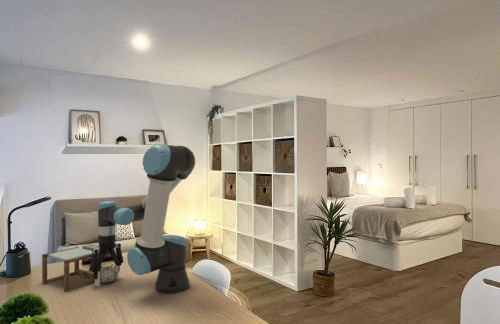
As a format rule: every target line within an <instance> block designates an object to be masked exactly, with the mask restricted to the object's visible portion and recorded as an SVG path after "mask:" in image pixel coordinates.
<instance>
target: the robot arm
mask: <svg viewBox="0 0 500 324" xmlns="http://www.w3.org/2000/svg"><path fill="white" fill-rule="evenodd" d="M142 166H143V170H144V172H145V173H146V178H147V179H148V180H149V184H148V188H147V189H148V190H147V195H146V196H145V197H144V198H143V200H142V201H141V202H140V203H139V204H134V205H128V206H117V204H116V201H113V200H104V201H100V202H99V203H98V205H97V206H98V209H97V218H98V219H97V223H98V224H97V227H98V228H97V231H98V232H97V233H98V237H97V239H98V240H97V243H98V245H99V247H98V248H97V249H92V257H90V258H91V260H90V264H89V269H88V270H89V272H92V273H93V278H94V279H95V283H94V286H96V287H100V286H101V281H100V272H99V268H100V266H102V263H103V261H104V259H105V257H106V256H105V255H108V254H109V255H110V257H111V259H112V261H113V263H114V264H113V269H114V270H115V272H117V273H116V274H115V276H114V279H113V280H116V281H118V280H119V275H120V272H121V268H120V267H121V266H122V264H123V263H124V262H125V261H124V257H123V253H122V244H121V243H118V242H117V243H116V241H117V237H116V236H117V235H116V232H117V230H116V226H117V225H119V226H128V225H130V224H131V223H134V222H140V221H142V225H141V226H142V227H141V232H140V236H138V237H136V239H135V244H134V245H135V246H132V247H131V248H129V249H128V251H127V254H126V256H127V257H126V259H127V260H126V261H127V264H128V266H129V268H130V270H131V271H132V272H133V273H134V274H136V275H138V276H143V275H148V274H150V273H152V272H156V271H158V274H157V278H156V280H155V283H154V289H155V291H157V292H159V293H163V294H174V293H180V292H181V293H182V292H183V291H185V290H188V289H189V288H190V278H189V277H188V273H187V269H186V263H187V262H186V259H187V258H186V257H187V256H186V253H187V252H186V248H187V245H186V238H185V237H183V236H181V235H172V234H167V235H165V234H164V228H165V224H166V223H165V222H166V218H167V211H168V207H169V206H168V205H169V200H170V194H171V192H173V191H174V190H175V188H176V187H177V186H178V185H179V184H180V183H181V182H182V181H183V180H187V178H188V177H189V176H190V175H191V174H192V172H193V170H194V169H195V166H196V158H195V154H194V152H193V151H192V150H191V149H190V148H189V147H188V146H185V145H174V144H173V145H172V144H171V145H170V144H169V145H168V144H155V145H152V146H150V147H149V148H148V149H147V150H146V151H145V153H144V155H143V157H142ZM99 251H100V252H99ZM98 253H99V255H98ZM97 257H98V259H97ZM188 287H189V288H188Z"/></svg>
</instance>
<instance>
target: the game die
mask: <svg viewBox="0 0 500 324" xmlns="http://www.w3.org/2000/svg"><path fill="white" fill-rule="evenodd" d="M116 273H117V272H115V270H114V264H111V265H109V266H102V265H101V270H100V280H101V281H100V286H101V285H103V284H105V283H111V282H112V283H114V282H115V281H114V280H115V279H114V276H115V274H116Z"/></svg>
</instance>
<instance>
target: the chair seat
mask: <svg viewBox="0 0 500 324" xmlns="http://www.w3.org/2000/svg"><path fill="white" fill-rule="evenodd" d="M98 247H99V244H94V243H90V244H85V245H82V248H80V247H79V248H74V247H73V248H74V249H70V250H66V251H61V250H60V251H61V252H57V253H53V254H48V257H47V258H50V259H55V260H58V261H62V262H64V261H65V260H69V259H73V258H77V257H80V256H84V255H88V254H92V249H97V248H98ZM99 252H100V251H99ZM109 255H110V254H108V255H105V257H108V256H109Z"/></svg>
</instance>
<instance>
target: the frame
mask: <svg viewBox="0 0 500 324" xmlns="http://www.w3.org/2000/svg"><path fill="white" fill-rule="evenodd" d="M74 248H80V247H79V246H74V247H70V248H66V249H61V250H57V251H53V252H48V253H43V254H42V255H41V256H42V257H41V275H42V276H41V284H43V285H46V284H50V283H53V282H56V281H60V280H63V292H64V293H68V292H71V291H74V290H77V289H80V288H83V287H85V286H88V285H91V284H95V279H94V278H93V272H91V271H88V270H85V269H81V268H80V261H82V260H86V259H90V258H92V254H88V255H84V256H80V257H77V258H73V259H69V260H65V261H63V274H62V275H59V276H55V277H52V278H48V258H49V257H48V254H53V253H57V252H61V251H66V250H70V249H74ZM98 255H99V253H98ZM97 259H98V257H97ZM72 263H74V268H73V269H74V271H72V272H70V264H72ZM101 266H102V265H101ZM101 266H100V268H99V272H100V270H101V268H102V267H101ZM73 276H80V277H83V278H87V279H89V280H86V281H83V282H81V283H78V284H75V285H70V277H73ZM100 282H101V280H100Z"/></svg>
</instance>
